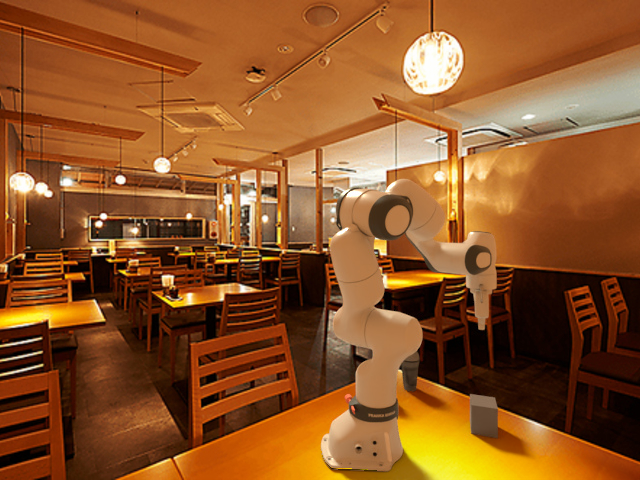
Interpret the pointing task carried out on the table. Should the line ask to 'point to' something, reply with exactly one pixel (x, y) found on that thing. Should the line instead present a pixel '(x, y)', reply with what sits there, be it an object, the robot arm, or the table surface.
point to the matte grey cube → (483, 416)
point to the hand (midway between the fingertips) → (481, 324)
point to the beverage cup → (410, 371)
